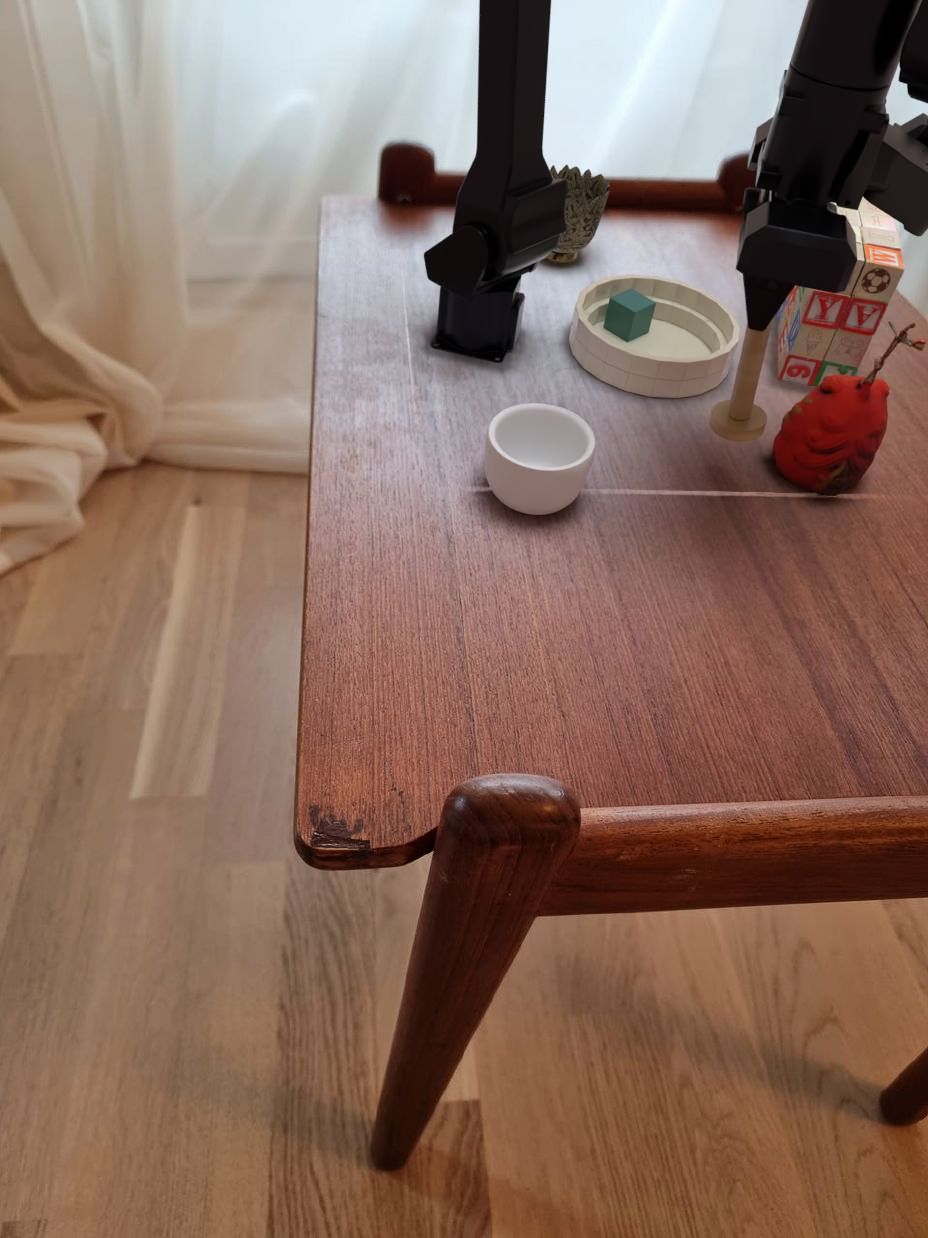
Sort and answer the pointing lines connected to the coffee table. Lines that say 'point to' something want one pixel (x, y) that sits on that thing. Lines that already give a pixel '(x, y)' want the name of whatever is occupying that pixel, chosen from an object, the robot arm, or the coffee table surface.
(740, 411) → the tan rod with disc
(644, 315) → the block
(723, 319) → the bowl
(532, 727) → the coffee table surface
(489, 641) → the coffee table surface
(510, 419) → the teacup
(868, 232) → the stack of blocks
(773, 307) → the robot arm
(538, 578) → the coffee table surface
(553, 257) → the cup
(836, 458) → the red clay folk toy
